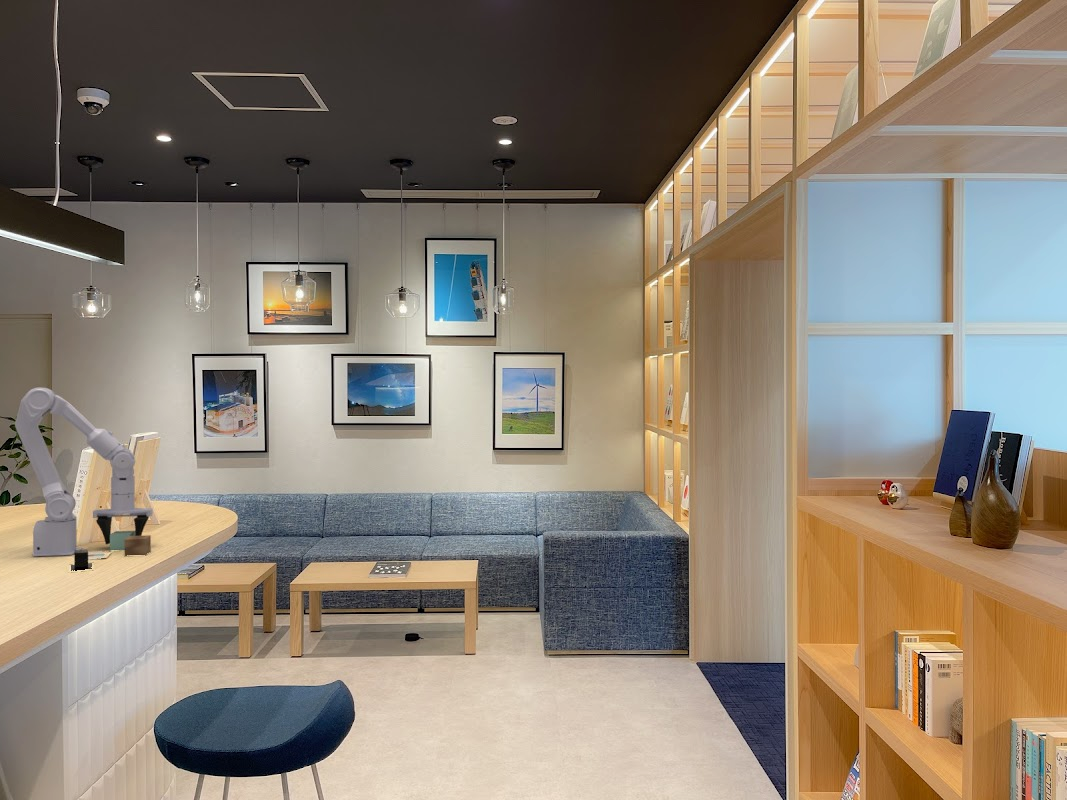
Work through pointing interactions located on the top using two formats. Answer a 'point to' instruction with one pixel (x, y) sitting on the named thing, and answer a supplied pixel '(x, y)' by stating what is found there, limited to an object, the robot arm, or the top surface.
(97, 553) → the page
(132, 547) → the walnut block
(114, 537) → the teal block
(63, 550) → the robot arm
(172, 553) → the top surface
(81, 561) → the black block with base
